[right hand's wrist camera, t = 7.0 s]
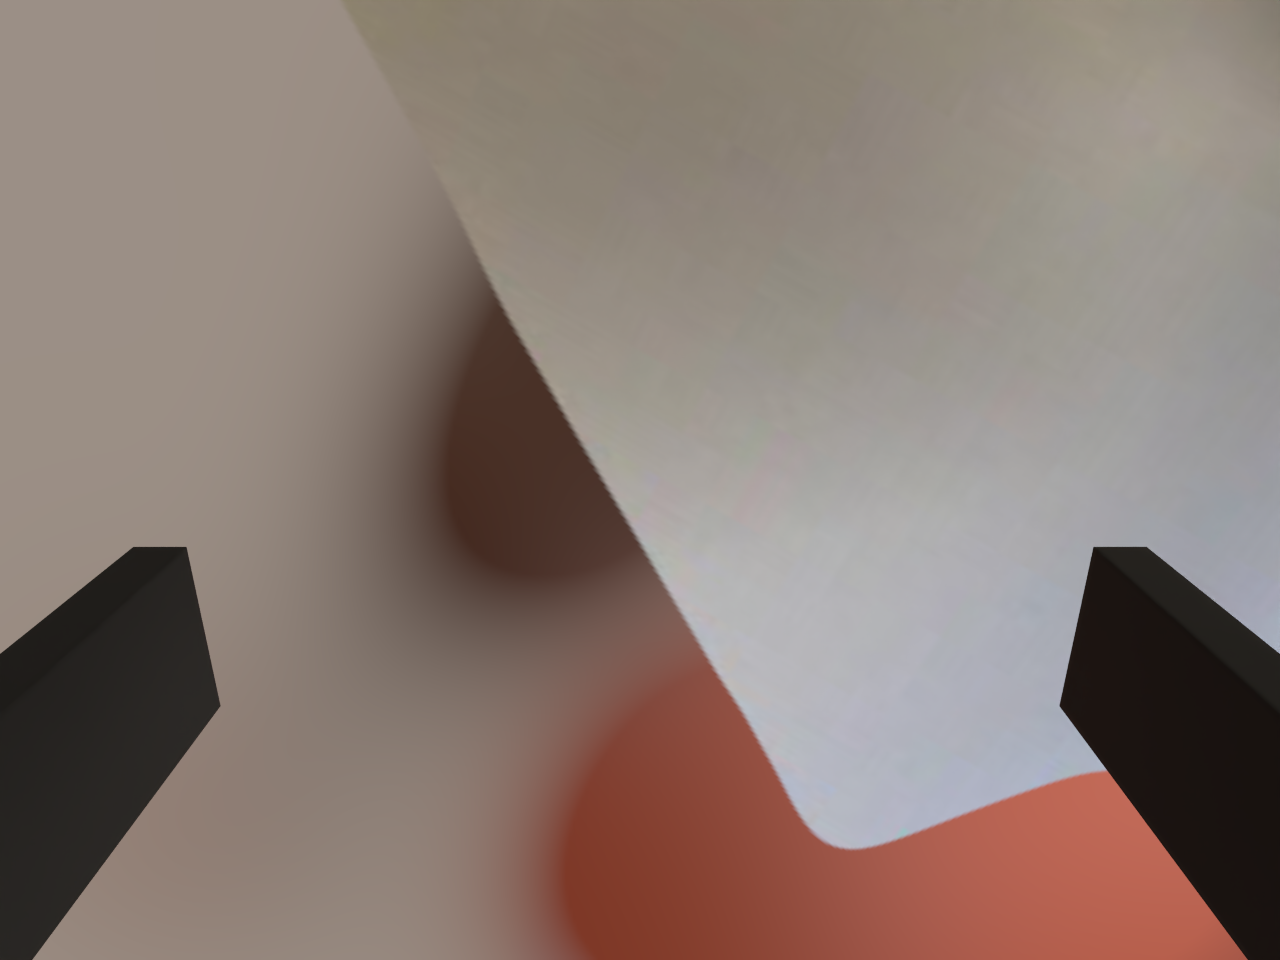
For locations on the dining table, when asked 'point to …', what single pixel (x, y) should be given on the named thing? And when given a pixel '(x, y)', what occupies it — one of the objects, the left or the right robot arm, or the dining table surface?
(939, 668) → the dining table surface
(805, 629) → the dining table surface
